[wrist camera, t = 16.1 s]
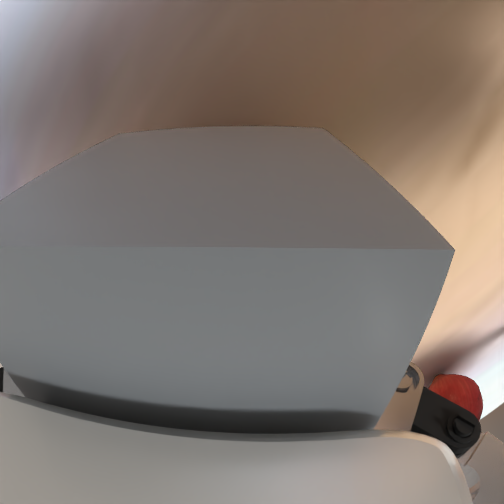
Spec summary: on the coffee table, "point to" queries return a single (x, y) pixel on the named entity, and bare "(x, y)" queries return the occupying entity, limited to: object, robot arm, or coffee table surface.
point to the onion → (459, 392)
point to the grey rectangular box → (216, 282)
